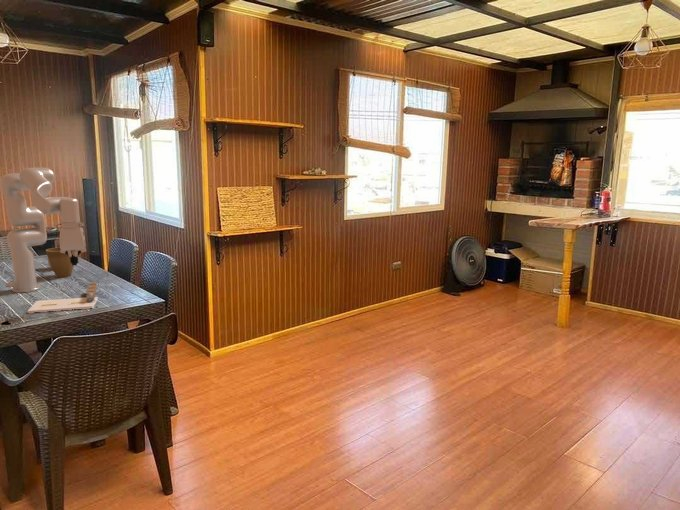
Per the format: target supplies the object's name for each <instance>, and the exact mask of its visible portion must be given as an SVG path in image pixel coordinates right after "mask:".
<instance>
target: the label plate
mask: <svg viewBox="0 0 680 510" xmlns="http://www.w3.org/2000/svg"><path fill="white" fill-rule="evenodd" d="M98 299H99V298H98V296H95V298H94V300H93V301H87V297H74V298H60V299H59V298H57V299H46V300H36V301H35V302H34V303H33V304H32V305H31V306H30V308H29V309H28V310H27V314H28V313H29V314H35V313H34V312H43V313H48V312H47V311H56V312H62V311H61V310H69V311H75V310H74V309H82V310H91V309H90V308H93V309H94V307H95V306H96V303H97V301H98ZM72 309H73V310H72Z"/></svg>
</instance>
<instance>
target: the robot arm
mask: <svg viewBox="0 0 680 510" xmlns="http://www.w3.org/2000/svg"><path fill="white" fill-rule="evenodd" d="M54 183H55V173H54V171H52V169H50V168H49V167H25V168H24V169H23V168H22V169H21V170H20V171H19V172H18V173H17V172H15V173H14V172H13V173H7V174H4V175H2V176H1V178H0V189H1V192H2V194H3V196H4V199H5V204H6V213H7V220H8V222H9V225H10V226H12V227H24V228H18V229H13V230H11V231H9V232H8V233H7V235H6V240H7V243H8V247H9V250H10V255H11V261H12V269H13V279H14V281H12V282H5V287H6V288H12V289H11V291H12V292H13V293H31V292H35V291H39V290H40V289H42V286H41V285H40V284H38V281H37V272H36V271H37V270H36V265H35V264H36V263H35V256H34V253H33V251H31V250H30V249H29V247H30V248H31V247H36V246H42V245H44V244H46V243H47V240H48V234H47V226H46V225H47V224H46V217H45V215H55V214H60V222H61V223H60V224H61V228H60V230H59V247H60V253H65V254H67V255H68V256H69V257H70V263H72V266H73V267H75V266H77V265H78V264H79V255H80V254H82V253H86V252H87V243H86V237H85V236H86V235H85V232H84V229H83V227H82V226H85V224H84V222H81V218H80V207H79V205H80V204H79V200H78V199H77V198H73V197H69V196H50V197H48V196H49V195H50V194H51V193H52V191H53V184H54ZM21 191H31V202H32V204H33V205H32V206H27V205H28V204H27V199H26V197H25V195H24V194H23V193H22V192H21ZM25 226H32V227H27V228H26V227H25ZM72 250H75V255H73V253H72Z"/></svg>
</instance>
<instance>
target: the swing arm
mask: <svg viewBox="0 0 680 510" xmlns="http://www.w3.org/2000/svg"><path fill="white" fill-rule="evenodd" d="M97 285H98V284H97V282H89V283H88V288H87V291H86V294H85V295H86V297H87V301H93V300H94V298H95V297H96V294H97V290H98V286H97ZM86 297H85V298H86Z"/></svg>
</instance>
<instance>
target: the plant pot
mask: <svg viewBox="0 0 680 510" xmlns="http://www.w3.org/2000/svg"><path fill="white" fill-rule="evenodd" d="M45 252H46V253H45V254H46V256H47V261H48V260H49V262H50V265H51V267H52V268H51V267H50V268H51V269H52V271H53V273H54V275H55V277H56V278H68V276H69V277H71V276H72V272H73V270H74V266H72V263H70V257H69V256H68V255H67V254H65V253H60V246H59V247H52V248H47V249H45ZM72 253H73V255H75V250H72Z"/></svg>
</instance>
